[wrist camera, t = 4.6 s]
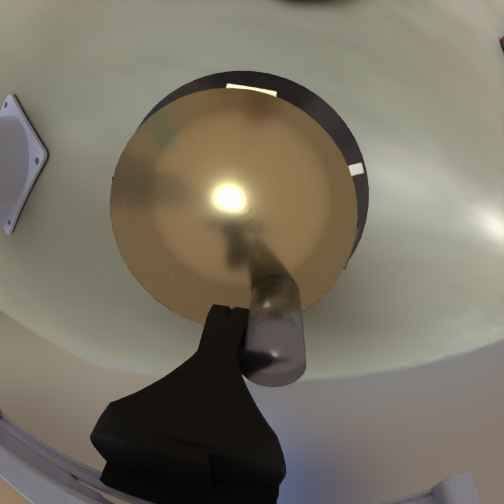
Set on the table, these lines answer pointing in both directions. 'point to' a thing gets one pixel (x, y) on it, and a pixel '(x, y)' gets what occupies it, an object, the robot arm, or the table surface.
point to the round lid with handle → (237, 217)
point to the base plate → (306, 103)
